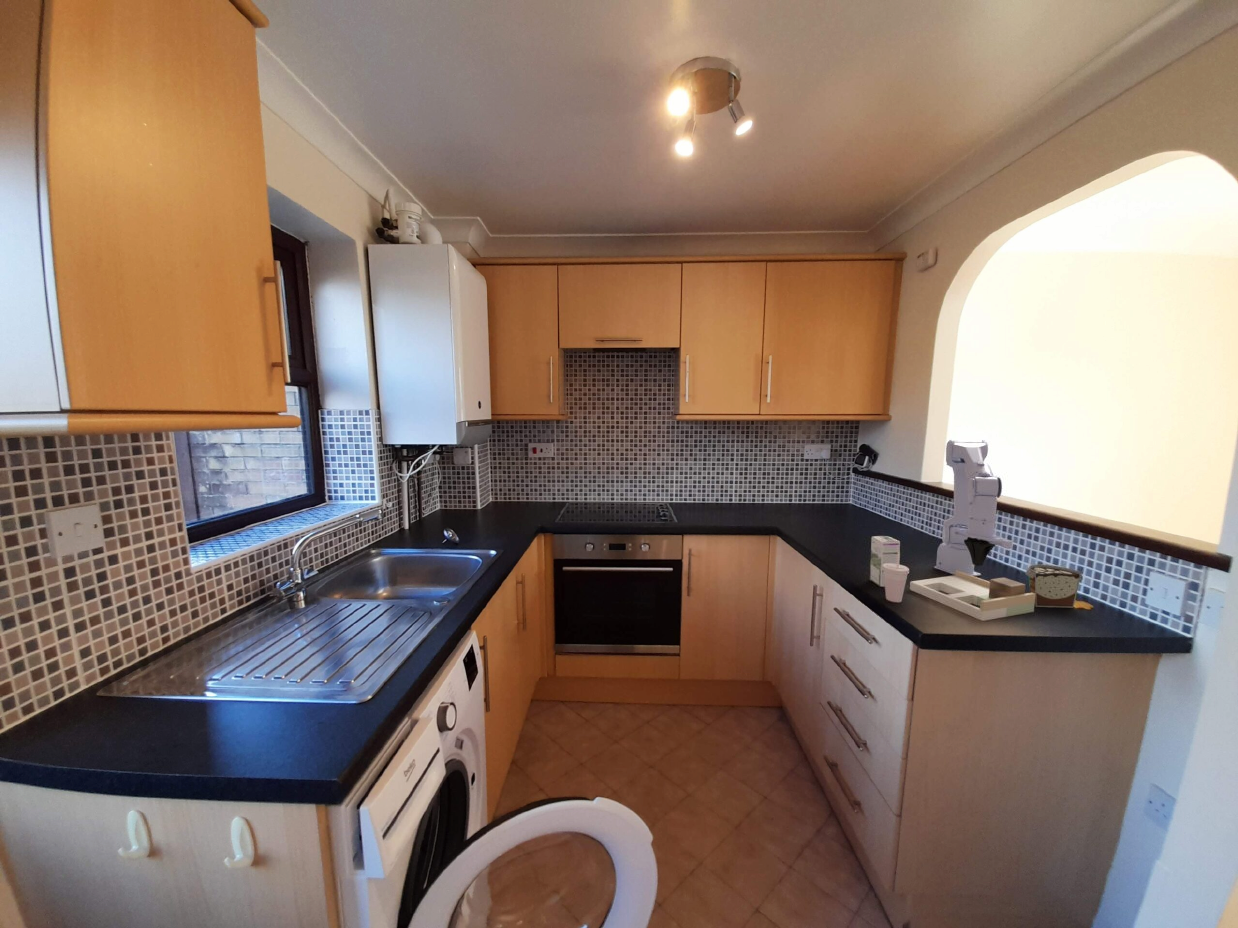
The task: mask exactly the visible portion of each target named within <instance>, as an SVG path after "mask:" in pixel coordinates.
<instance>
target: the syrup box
mask: <svg viewBox="0 0 1238 928" xmlns="http://www.w3.org/2000/svg"><path fill="white" fill-rule="evenodd" d="M870 547H871V548H870V563H869V565H870V566H869V567H870V569H869V571H870V572H869V580H870V581H871V582H873V583H874V584H876V585H877V586H879V587H883V588H885V581H884V570H883V569H882V567H883V564H886V563H894V564H897V553H898V552H900V550H901V549H900V547H901V541H900V540H897V539H895V538H893V537H891V536H888V535H876V536H871V546H870ZM900 553H901V552H900Z"/></svg>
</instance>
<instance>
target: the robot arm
mask: <svg viewBox="0 0 1238 928" xmlns="http://www.w3.org/2000/svg"><path fill="white" fill-rule="evenodd" d="M988 444H989V443H988V442H987V441H986V440H983V439H981V440H956V439H955V440H954V439H949V440H948V441H947V442H946V446H945V463H946V466H948V467H950V468H952V471H953V516H951V517H949V518H947V519H945V520H944V522H943V523H942V524H943V525H942V530H941V538H942V542H941V543H940V544H939V546H938V547H937V552H936V565H935V566H934V569H936V570H939V571H942V572H945V573H948V574H951V575H952V576H954V575H955V571H960V572H963V573H966V574H969V575H971V576H974V577H978V576H982V574H981V573H980V572H978V571H975V566H977V567H978V566H980V567H981V566H983V565H984V562H985V560H986V559H987V557H988V555H989V553H990V552H991V551H992V550H993V548H994V547H995V546H1000V547H1002V548H1004V549H1011V548H1013V540H1010V539H1008V538H1005V537H1002V536H999V535H997V534H995V530H996V529H995V526H996V515H997V504H998V499H999V498H1001V496H1002V491H1003V482H1002V479H1001V477H1000V476H997V475H994V473H993V471H992V468H991V467H990V465H989V464H988V463H986V462H985V459H986V458H987V457H988V453H989V452H988V451H989V445H988Z"/></svg>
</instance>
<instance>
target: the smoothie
mask: <svg viewBox="0 0 1238 928" xmlns="http://www.w3.org/2000/svg"><path fill="white" fill-rule="evenodd" d="M900 557H901V552H898V553H897V564H894V563H886V564H883V567H882V569H883V570H884V581H885V587H884V590H885V599H886V600H887V601H889V602H892V603H901V602H903V601H902V600H903V595H904V592H905V586H906V583H907V579H908V574H909V573H910V568H909V567H908V566H906V565H903V564H900Z"/></svg>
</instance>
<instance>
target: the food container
mask: <svg viewBox="0 0 1238 928" xmlns="http://www.w3.org/2000/svg"><path fill="white" fill-rule="evenodd" d="M1025 575H1026V576H1028V590H1029V591H1028V593H1035V604H1034V608H1037V607H1038V608H1039V607H1040V608H1042V607H1043V608H1068V609H1069V608H1071V609H1072V608H1074V607H1075V603H1076V600H1077V599H1076V598H1077V594H1078V590H1079V585H1080V581H1083V580H1084V578H1083V574H1082V571H1079V570H1076V569H1072V568H1069V567H1063V566H1058V565H1050V564H1041V563H1040V564H1030V565H1029V566H1028V567H1027V569H1026V570H1025Z"/></svg>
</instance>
